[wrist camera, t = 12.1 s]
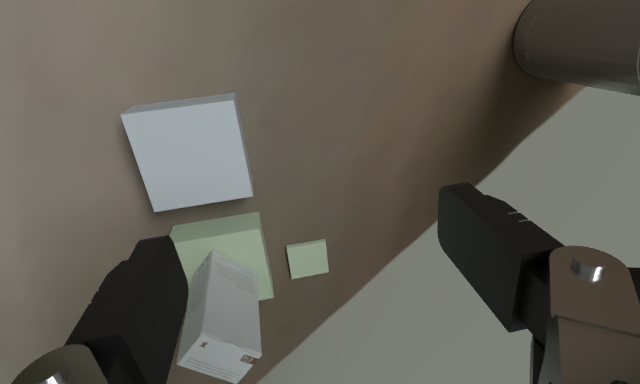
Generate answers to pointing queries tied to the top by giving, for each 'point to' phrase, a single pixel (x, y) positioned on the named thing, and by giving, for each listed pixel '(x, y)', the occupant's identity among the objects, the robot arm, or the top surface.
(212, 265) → the skincare box
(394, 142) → the top surface
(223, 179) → the blue-grey riser block
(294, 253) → the sage tile
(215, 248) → the sage riser block
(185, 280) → the robot arm
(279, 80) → the top surface
